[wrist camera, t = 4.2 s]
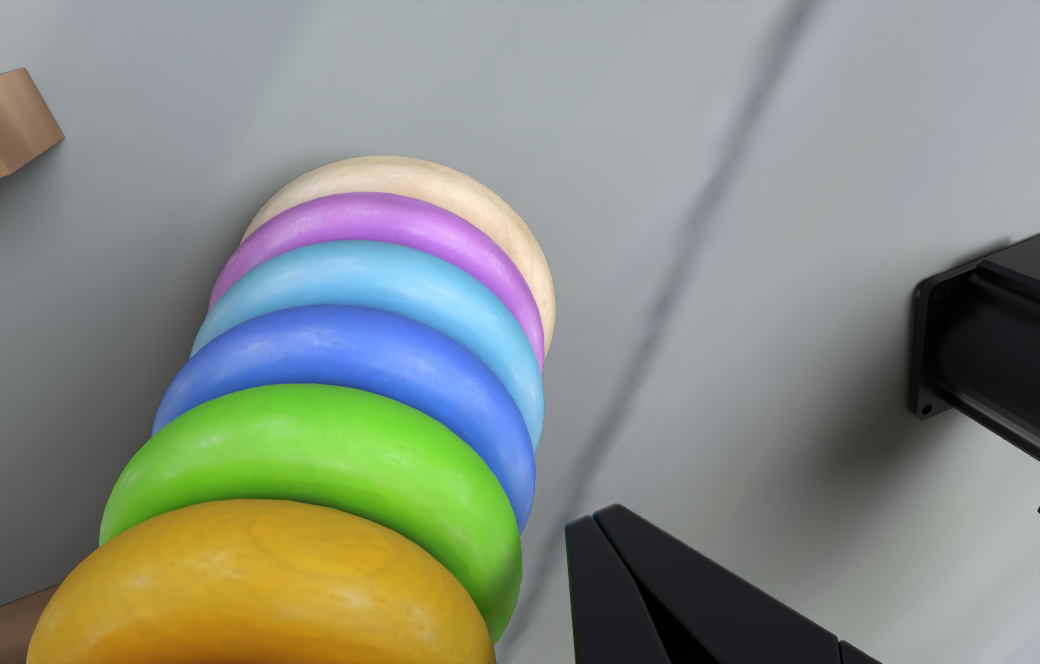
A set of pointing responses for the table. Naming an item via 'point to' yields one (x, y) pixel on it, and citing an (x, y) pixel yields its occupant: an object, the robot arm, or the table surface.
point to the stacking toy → (334, 441)
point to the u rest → (3, 149)
